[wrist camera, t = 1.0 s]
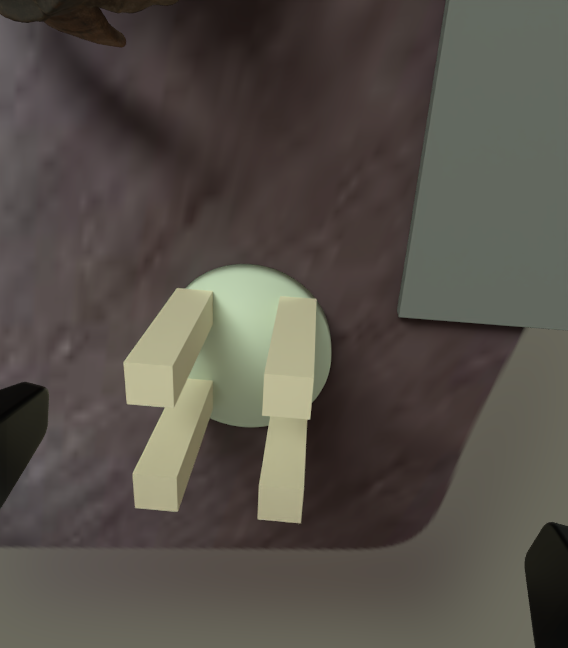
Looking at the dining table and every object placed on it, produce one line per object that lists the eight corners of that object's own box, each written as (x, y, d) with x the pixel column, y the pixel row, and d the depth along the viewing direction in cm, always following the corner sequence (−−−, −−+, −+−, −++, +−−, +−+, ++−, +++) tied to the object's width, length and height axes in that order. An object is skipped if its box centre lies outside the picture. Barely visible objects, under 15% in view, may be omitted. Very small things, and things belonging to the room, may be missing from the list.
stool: (170, 404, 24) (113, 524, 18) (164, 257, 21) (92, 334, 15) (323, 417, 24) (323, 544, 17) (338, 270, 21) (345, 354, 14)
